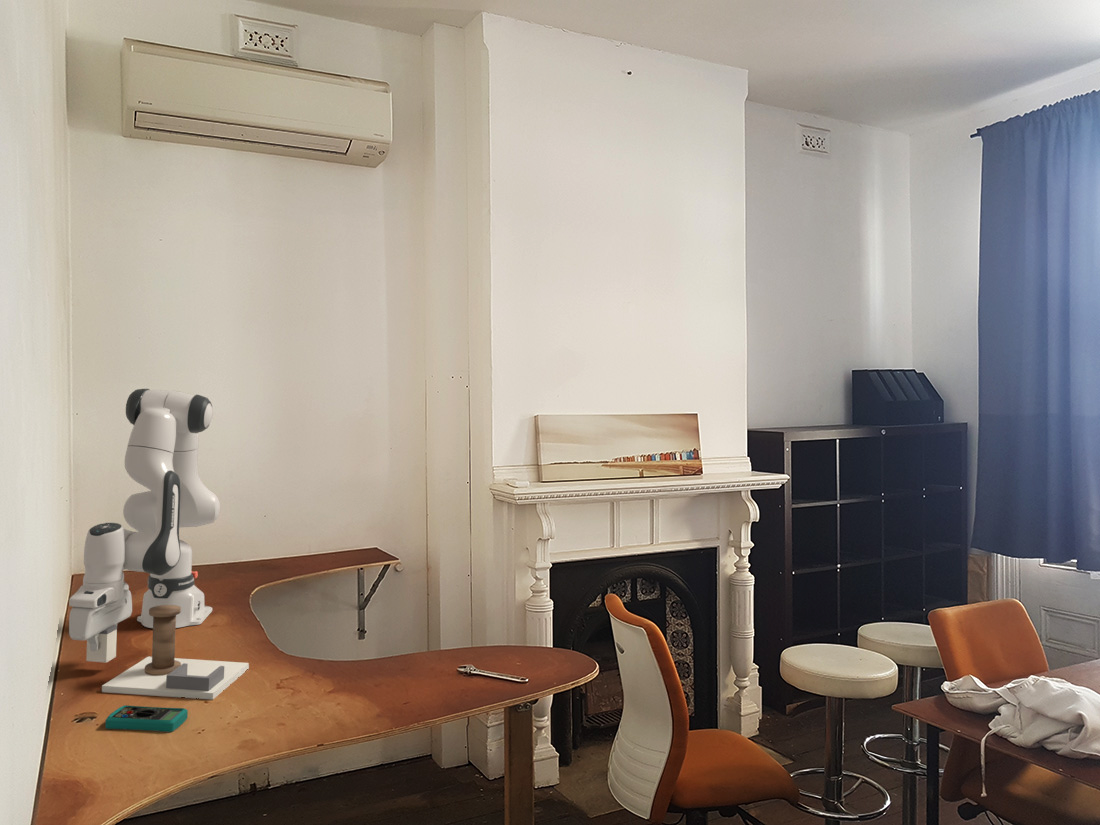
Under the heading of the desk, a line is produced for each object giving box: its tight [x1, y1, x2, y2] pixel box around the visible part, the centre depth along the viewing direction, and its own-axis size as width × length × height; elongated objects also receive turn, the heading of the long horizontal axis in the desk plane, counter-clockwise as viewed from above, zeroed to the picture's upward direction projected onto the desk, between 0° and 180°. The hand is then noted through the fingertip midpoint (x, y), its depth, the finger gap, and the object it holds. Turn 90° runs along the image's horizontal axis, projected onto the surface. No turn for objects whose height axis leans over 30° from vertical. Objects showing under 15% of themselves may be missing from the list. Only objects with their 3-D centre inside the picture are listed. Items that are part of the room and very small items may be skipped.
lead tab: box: [85, 624, 118, 664], centre depth 200 cm, size 4×5×8 cm
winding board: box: [101, 656, 250, 701], centre depth 197 cm, size 20×26×4 cm
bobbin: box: [145, 605, 181, 676], centre depth 199 cm, size 8×8×15 cm
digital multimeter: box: [104, 704, 189, 733], centre depth 173 cm, size 7×15×3 cm, turn 90°
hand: (101, 646), depth 200 cm, fingers closed on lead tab, 4 cm apart
